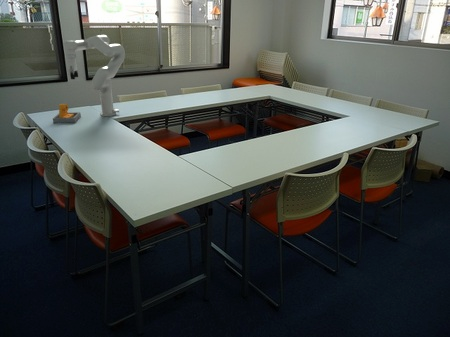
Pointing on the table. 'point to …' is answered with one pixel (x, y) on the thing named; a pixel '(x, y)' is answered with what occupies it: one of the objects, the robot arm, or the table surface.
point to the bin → (67, 120)
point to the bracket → (64, 111)
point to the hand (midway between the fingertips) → (74, 78)
